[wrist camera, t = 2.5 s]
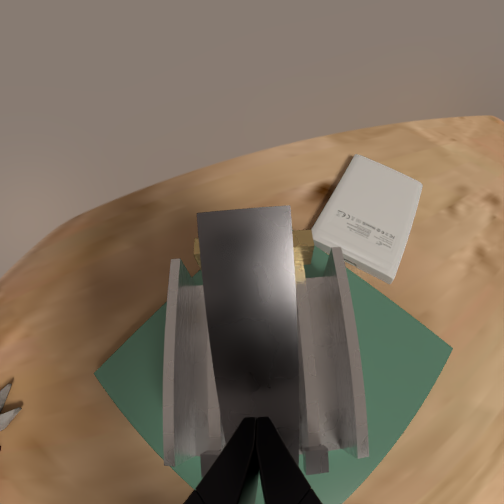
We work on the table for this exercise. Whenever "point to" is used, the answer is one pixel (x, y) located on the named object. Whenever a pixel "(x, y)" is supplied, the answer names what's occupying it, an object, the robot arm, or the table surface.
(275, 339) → the dark metal plate
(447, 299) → the table surface
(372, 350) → the green square mat
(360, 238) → the external hard drive
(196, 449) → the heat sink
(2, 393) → the pliers
